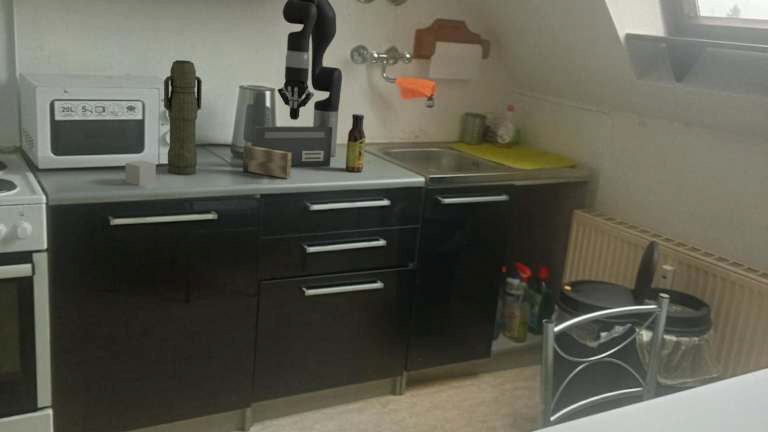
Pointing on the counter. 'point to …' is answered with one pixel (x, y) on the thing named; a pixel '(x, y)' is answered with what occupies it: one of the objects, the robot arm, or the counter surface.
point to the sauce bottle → (355, 145)
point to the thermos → (182, 116)
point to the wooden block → (267, 161)
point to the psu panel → (297, 143)
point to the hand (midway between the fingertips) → (294, 119)
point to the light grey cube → (140, 173)
